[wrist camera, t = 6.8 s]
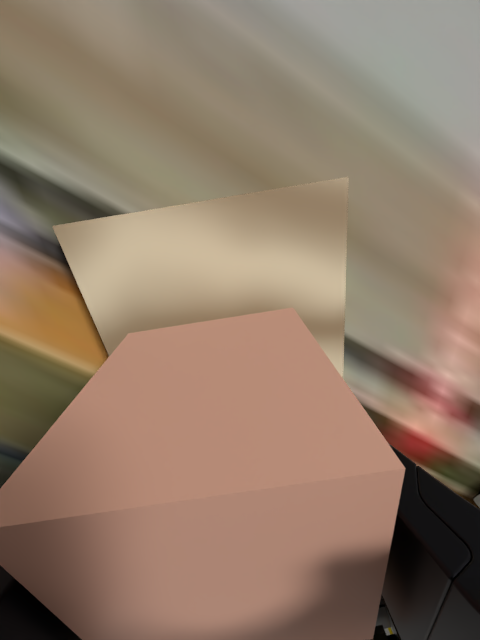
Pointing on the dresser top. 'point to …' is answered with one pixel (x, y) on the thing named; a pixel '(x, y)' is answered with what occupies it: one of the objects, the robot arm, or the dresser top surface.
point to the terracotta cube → (208, 492)
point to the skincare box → (477, 500)
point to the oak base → (217, 262)
